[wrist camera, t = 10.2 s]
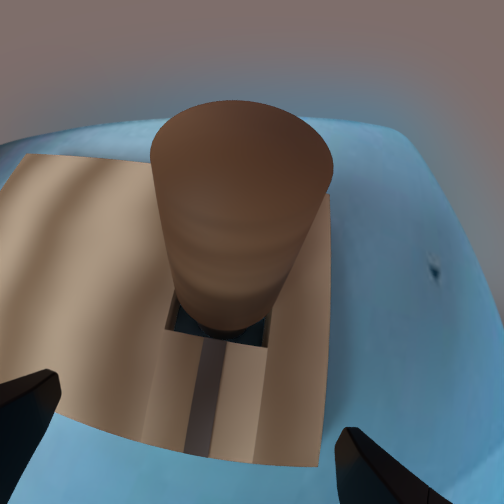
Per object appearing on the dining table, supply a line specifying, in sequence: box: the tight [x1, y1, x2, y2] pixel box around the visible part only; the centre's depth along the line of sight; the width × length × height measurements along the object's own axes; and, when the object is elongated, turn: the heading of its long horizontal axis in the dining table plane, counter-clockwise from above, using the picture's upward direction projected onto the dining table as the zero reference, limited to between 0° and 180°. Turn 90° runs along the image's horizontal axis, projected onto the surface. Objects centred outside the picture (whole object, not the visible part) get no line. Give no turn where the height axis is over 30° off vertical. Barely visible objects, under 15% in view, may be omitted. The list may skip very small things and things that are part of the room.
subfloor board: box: [0, 154, 331, 467], centre depth 15 cm, size 22×15×3 cm
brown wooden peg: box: [150, 100, 333, 340], centre depth 12 cm, size 4×4×11 cm
